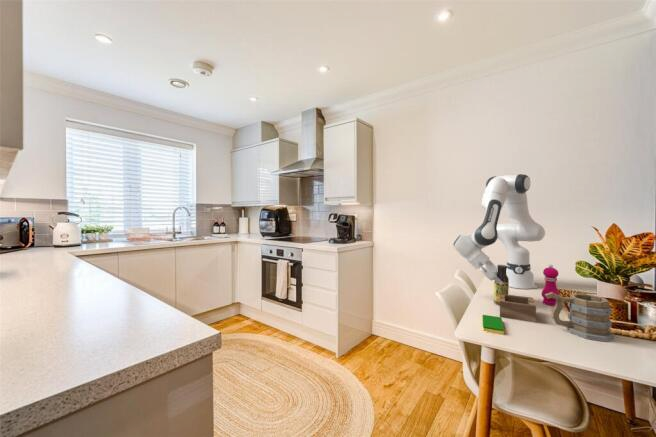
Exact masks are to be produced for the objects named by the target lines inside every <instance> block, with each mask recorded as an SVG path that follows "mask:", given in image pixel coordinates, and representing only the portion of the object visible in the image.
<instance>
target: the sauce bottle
mask: <svg viewBox="0 0 656 437" xmlns="http://www.w3.org/2000/svg"><path fill="white" fill-rule="evenodd" d="M496 267H497V277H498V278H499V279H500V280H502V281H503V284H502V285H500V284H499V283H497V282H496V281H494V282H493V283H494V284H493V303H494V304H495V305H498V306H500V294H506V295H509V292H510V291H509V290H510V287H509V279H508V277H507V275H506V270H507V264H497V266H496Z"/></svg>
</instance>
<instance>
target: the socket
mask: <svg viewBox="0 0 656 437" xmlns="http://www.w3.org/2000/svg"><path fill="white" fill-rule="evenodd" d="M499 317H501V318H505V319H511V320H516V321H517V320H518V321H521V322H522V321H523V322H527V323H535V324H536V323H537V306H536V303H535V300H534V297H529V296H522V295H521V296H520V295H514V294H508V295H506V294H500V305H499Z"/></svg>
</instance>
